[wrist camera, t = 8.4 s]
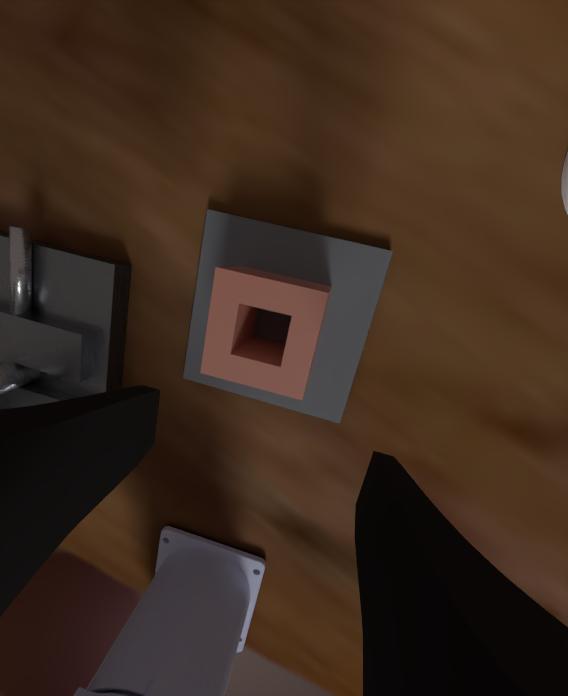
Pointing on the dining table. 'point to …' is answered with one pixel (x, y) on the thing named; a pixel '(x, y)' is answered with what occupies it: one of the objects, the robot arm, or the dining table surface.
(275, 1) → the dining table surface
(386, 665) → the robot arm
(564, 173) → the hook
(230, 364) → the collar block
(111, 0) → the dining table surface
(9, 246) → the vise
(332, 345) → the mat
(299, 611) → the dining table surface
